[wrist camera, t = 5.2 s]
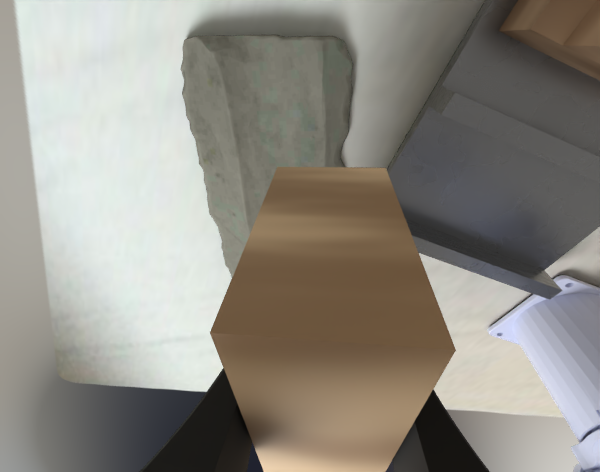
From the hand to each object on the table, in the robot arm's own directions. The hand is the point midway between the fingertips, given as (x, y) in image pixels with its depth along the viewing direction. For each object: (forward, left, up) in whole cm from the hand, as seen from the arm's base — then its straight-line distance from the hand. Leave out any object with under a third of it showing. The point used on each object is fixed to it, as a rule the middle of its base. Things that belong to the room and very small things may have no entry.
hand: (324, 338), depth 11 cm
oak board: (0, 0, -5) cm, 5 cm away
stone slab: (+3, +2, -11) cm, 12 cm away
